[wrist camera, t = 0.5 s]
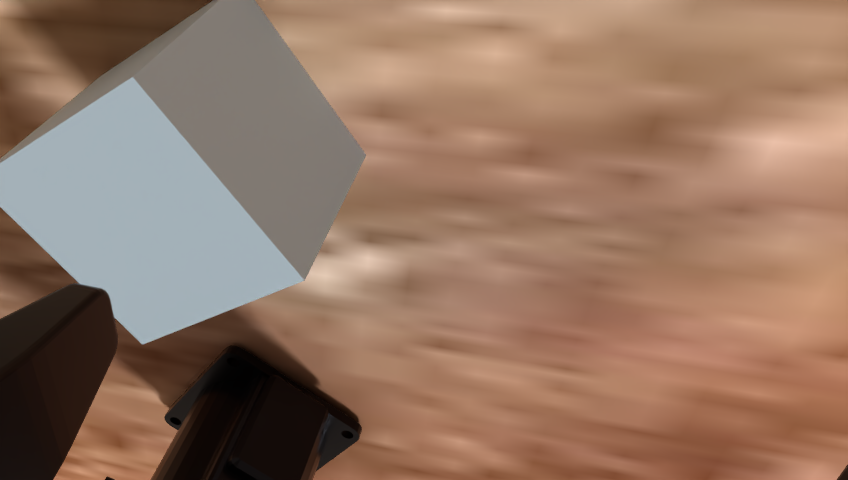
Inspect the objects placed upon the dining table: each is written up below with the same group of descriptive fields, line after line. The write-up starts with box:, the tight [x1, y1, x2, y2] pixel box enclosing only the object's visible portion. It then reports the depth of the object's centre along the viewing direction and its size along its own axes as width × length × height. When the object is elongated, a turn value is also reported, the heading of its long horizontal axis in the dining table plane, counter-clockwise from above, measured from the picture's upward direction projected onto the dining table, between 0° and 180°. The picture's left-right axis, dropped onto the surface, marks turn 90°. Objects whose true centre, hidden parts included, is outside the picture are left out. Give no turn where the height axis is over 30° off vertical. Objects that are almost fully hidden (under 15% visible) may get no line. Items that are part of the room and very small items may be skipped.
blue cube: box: [0, 0, 366, 345], centre depth 21 cm, size 6×6×6 cm
